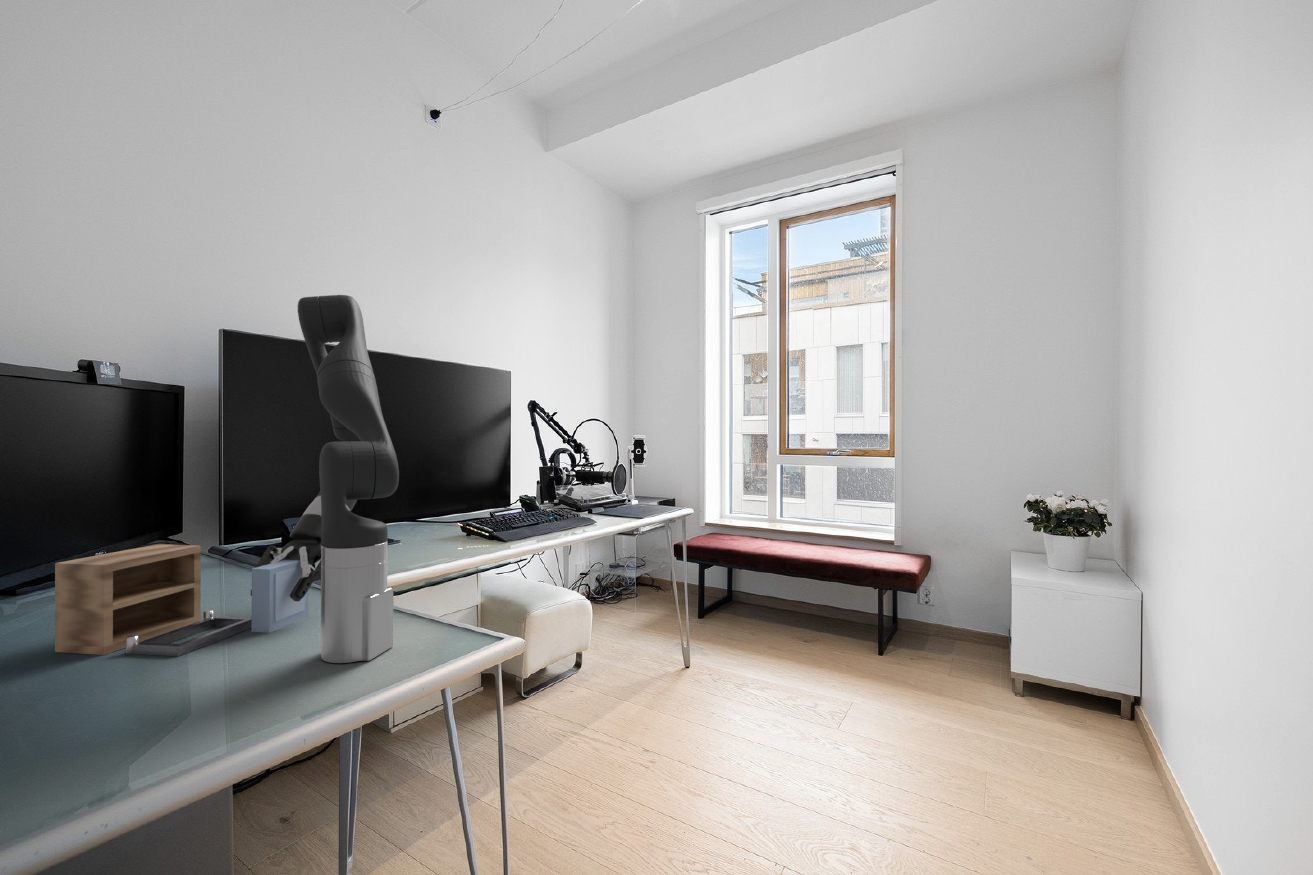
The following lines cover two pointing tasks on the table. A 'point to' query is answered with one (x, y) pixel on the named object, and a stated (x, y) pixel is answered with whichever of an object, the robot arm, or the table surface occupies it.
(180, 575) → the cabinet
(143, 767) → the table surface
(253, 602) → the recessed panel box
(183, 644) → the dark grey tray
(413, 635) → the table surface
